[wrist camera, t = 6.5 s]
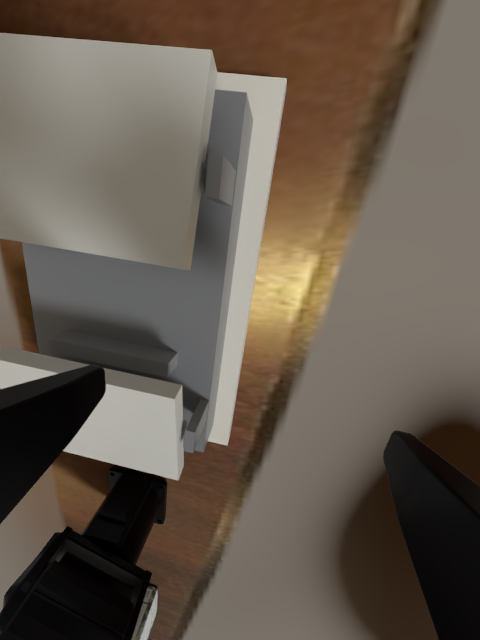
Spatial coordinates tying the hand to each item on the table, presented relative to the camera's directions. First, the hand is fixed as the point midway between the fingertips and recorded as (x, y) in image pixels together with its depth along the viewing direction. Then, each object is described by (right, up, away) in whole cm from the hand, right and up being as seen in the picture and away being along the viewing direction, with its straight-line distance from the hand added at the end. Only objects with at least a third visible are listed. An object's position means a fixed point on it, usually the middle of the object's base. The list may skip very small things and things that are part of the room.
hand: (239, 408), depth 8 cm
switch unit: (-7, +5, +12) cm, 15 cm away
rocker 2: (-9, -3, +8) cm, 13 cm away
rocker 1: (-7, +10, +4) cm, 13 cm away
